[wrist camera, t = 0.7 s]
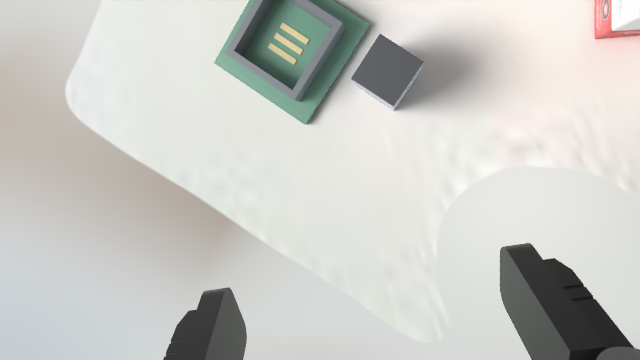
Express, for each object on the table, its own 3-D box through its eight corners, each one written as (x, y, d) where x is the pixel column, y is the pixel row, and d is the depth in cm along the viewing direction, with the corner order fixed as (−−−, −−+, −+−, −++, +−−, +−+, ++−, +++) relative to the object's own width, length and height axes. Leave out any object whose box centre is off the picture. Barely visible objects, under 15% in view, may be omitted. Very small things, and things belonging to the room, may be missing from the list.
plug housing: (383, 52, 36) (380, 33, 29) (418, 75, 36) (423, 61, 29) (359, 88, 37) (350, 78, 30) (393, 111, 36) (393, 106, 29)
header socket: (274, -36, 37) (263, -50, 34) (369, 25, 36) (367, 16, 33) (217, 64, 38) (202, 58, 36) (306, 124, 38) (299, 124, 35)
